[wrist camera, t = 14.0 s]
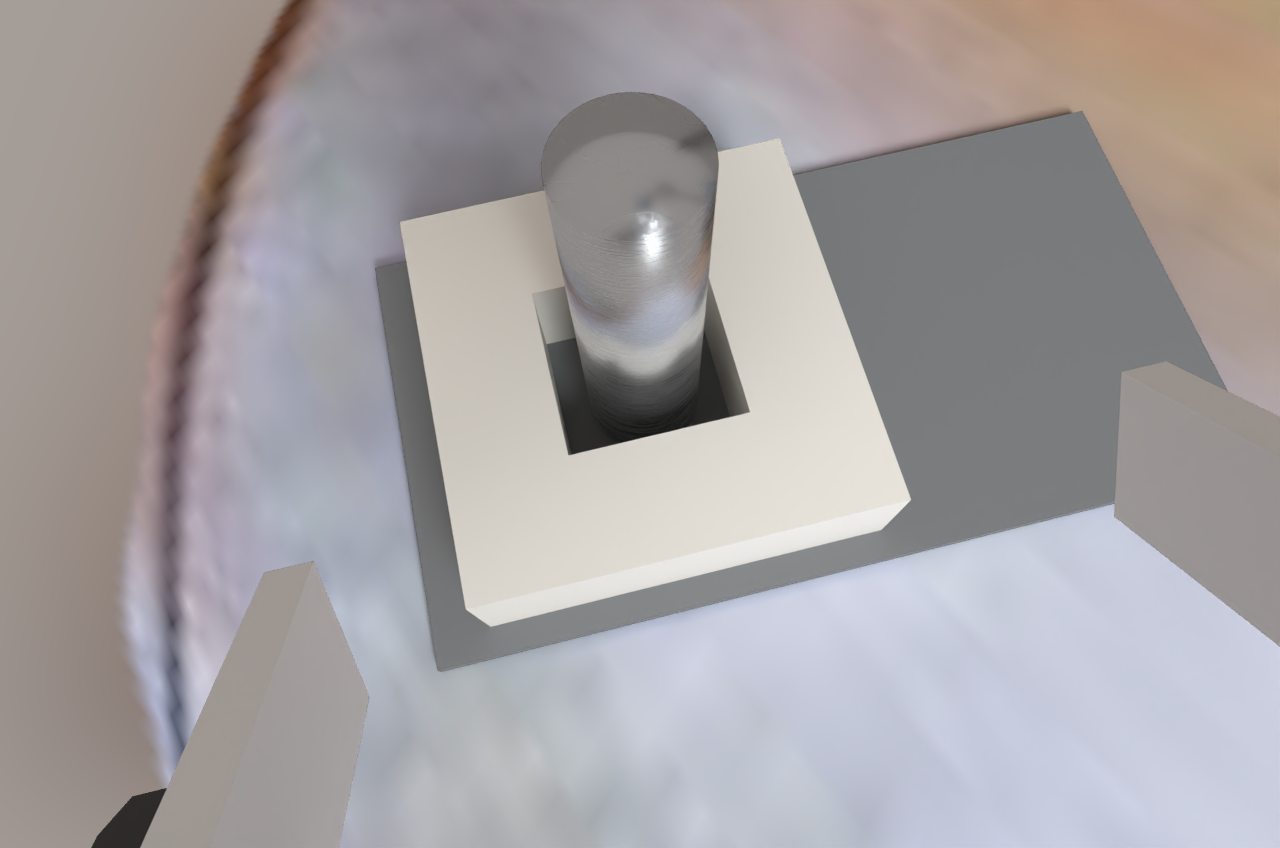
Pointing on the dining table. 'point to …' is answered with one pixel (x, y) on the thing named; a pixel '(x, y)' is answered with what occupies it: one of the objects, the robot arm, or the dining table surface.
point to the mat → (898, 363)
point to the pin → (634, 253)
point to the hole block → (656, 465)
